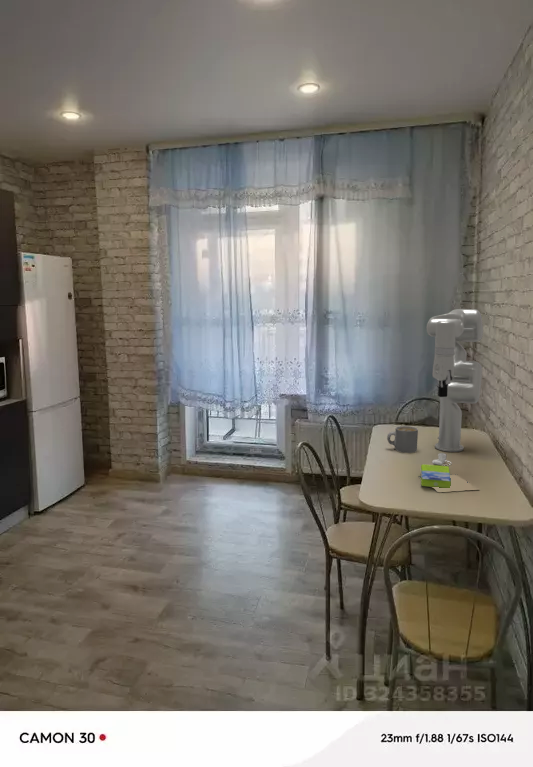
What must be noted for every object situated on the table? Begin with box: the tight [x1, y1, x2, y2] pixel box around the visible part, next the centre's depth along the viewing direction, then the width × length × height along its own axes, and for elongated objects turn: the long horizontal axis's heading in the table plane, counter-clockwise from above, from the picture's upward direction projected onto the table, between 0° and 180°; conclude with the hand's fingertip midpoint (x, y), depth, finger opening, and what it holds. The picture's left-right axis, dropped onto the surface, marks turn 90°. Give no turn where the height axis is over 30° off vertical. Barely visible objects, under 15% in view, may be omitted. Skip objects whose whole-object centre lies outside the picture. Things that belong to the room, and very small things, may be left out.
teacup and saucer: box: [431, 453, 452, 466], centre depth 221 cm, size 9×8×4 cm
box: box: [420, 464, 451, 488], centre depth 198 cm, size 10×4×17 cm
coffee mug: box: [386, 425, 419, 454], centre depth 241 cm, size 13×10×10 cm
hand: (442, 396), depth 211 cm, fingers closed
